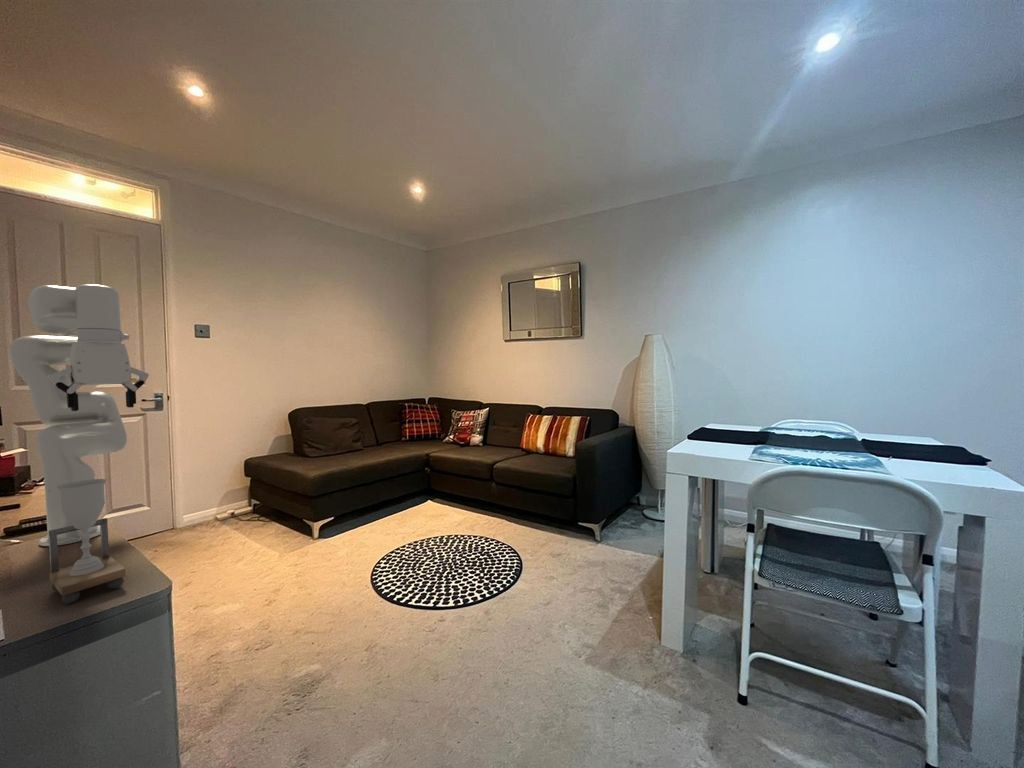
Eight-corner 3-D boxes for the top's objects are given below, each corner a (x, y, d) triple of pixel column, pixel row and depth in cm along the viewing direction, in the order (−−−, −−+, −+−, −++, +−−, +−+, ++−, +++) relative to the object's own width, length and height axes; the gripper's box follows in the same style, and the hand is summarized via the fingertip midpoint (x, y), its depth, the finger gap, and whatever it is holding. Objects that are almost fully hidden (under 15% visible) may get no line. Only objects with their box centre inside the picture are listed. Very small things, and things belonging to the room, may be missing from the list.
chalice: (53, 581, 81) (47, 489, 80) (72, 566, 87) (67, 481, 87) (102, 573, 84) (97, 484, 83) (118, 559, 90) (113, 477, 90)
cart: (50, 590, 85) (46, 530, 85) (110, 572, 93) (107, 517, 92) (62, 608, 78) (59, 542, 78) (126, 587, 86) (123, 527, 85)
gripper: (141, 340, 109) (145, 405, 109) (42, 336, 94) (47, 411, 95) (151, 338, 104) (154, 406, 105) (49, 334, 90) (53, 412, 91)
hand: (103, 408), depth 100 cm, fingers open, 9 cm apart
